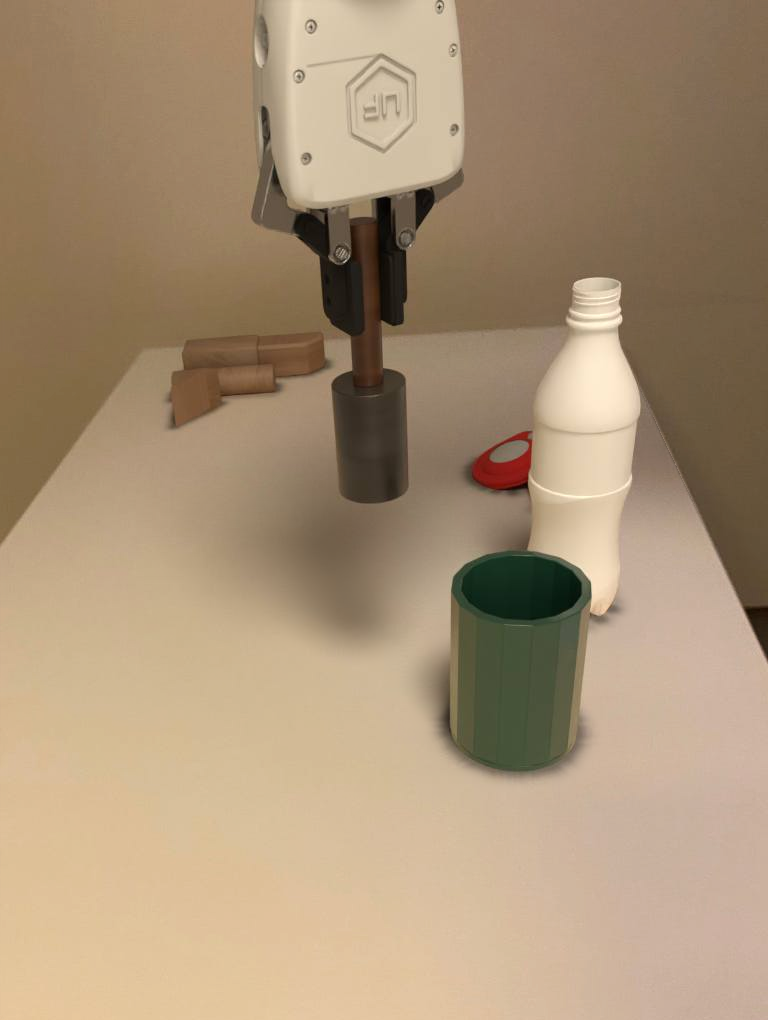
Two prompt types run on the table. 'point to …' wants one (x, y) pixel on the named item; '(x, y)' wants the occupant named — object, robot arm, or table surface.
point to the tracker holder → (505, 462)
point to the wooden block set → (239, 368)
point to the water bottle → (585, 442)
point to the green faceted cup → (517, 658)
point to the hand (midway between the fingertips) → (366, 322)
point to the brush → (370, 396)
